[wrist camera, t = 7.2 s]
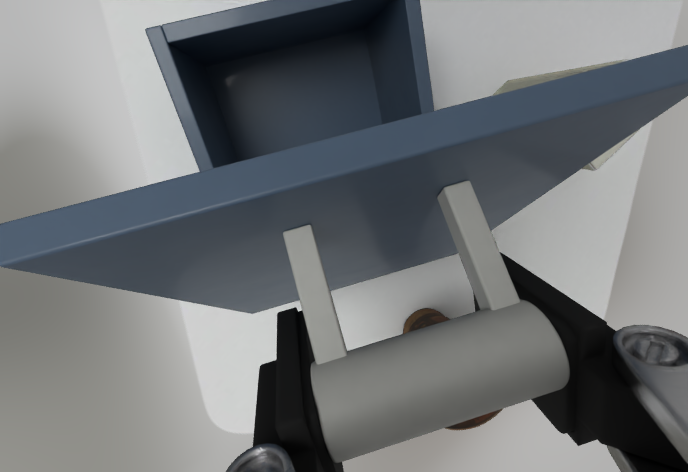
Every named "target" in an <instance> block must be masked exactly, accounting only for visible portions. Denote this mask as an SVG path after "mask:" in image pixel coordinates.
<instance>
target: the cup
mask: <svg viewBox="0 0 688 472" xmlns="http://www.w3.org/2000/svg"><path fill="white" fill-rule="evenodd" d="M447 320H451V319H449V318H447V317H445V316H444V315H443V314H441V313H440V312H438V311H436V310H434V309H428V308H426V309H421V310H418V311H416V312H414V313H413V314H412V315H411V316H410V317H409V318H408V319H407V321H406V323H405V326H404V330H403V334H405V333H408V332H412V331H415V330H418V329H421V328H425V327H428V326H431V325H434V324H438V323H441V322H444V321H447ZM501 410H502V409H500V410H497V411H494V412H491V413H488V414H485V415H482V416H479V417H476V418H473V419H470V420H467V421H463V422H460V423H457V424H454V425H451V426H448V427H445V428H446V429H450V430H466V429H471V428H475V427H478V426H480V425H482V424H484V423H486V422H487V421H489V420H491V419H492V418H493V417H495V416H496V415H497V414H498V413H499V412H500V411H501Z"/></svg>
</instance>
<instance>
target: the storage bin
mask: <svg viewBox="0 0 688 472" xmlns="http://www.w3.org/2000/svg"><path fill="white" fill-rule="evenodd" d="M145 30H146V34H147V36H148V39H149V41H150V44H151V46H152V49H153V52H154V54H155V57H156V59H157V62H158V65H159V67H160V70H161V72H162V75H163V77H164V80H165V83H166V85H167V88H168V90H169V93H170V96H171V98H172V101H173V103H174V106H175V108H176V111H177V114H178V116H179V119H180V121H181V124H182V127H183V129H184V132H185V134H186V137H187V139H188V142H189V145H190V147H191V150H192V152H193V155H194V158H195V160H196V163H197V165H198V168H199V170H200V172H201V171H205V170H209V169H213V168H217V167H220V166H224V165H228V164H232V163H236V162H240V161H244V160H247V159H251V158H255V157H259V156H263V155H267V154H270V153H274V152H278V151H282V150H286V149H290V148H294V147H297V146H301V145H305V144H309V143H313V142H317V141H320V140H324V139H328V138H332V137H336V136H340V135H344V134H347V133H351V132H355V131H359V130H363V129H367V128H370V127H374V126H378V125H382V124H386V123H390V122H394V121H397V120H401V119H405V118H409V117H413V116H417V115H420V114H424V113H428V112H432V111H434V105H433V98H432V90H431V83H430V75H429V67H428V60H427V52H426V44H425V37H424V29H423V22H422V14H421V6H420V0H269V1H264V2H260V3H255V4H251V5H247V6H242V7H238V8H233V9H229V10H225V11H220V12H216V13H211V14H207V15H203V16H198V17H194V18H189V19H185V20H181V21H176V22H172V23H167V24H163V25H162V26H160V25H159V26H155V27H151V28H147V29H145Z"/></svg>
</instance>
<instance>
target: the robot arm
mask: <svg viewBox="0 0 688 472" xmlns="http://www.w3.org/2000/svg"><path fill="white" fill-rule="evenodd" d="M500 254H501V257H502V259H503V261H504V264H505V266H506V268H507V271H508V273H509V276H510V278H511V280H512V283H513V285H514V288H515V290H516V292H517V295H518V297H519V299H520V300H525V301H528V302H530V303H532V304H533V305H535V306H536V307H537V308H538V309H539V310H540V311H541V312H542V313H543V314H544V315H545V316H546V317H547V318H548V320H549V321H550V322H551V324H552V325H553V327H554V328H555V330H556V331H557V333H558V335H559V337H560V339H561V341H562V343H563V346H564V348H565V351H566V354H567V357H568V361H569V367H570V376H569V380H568V383H567V384H566V385H565V387H563V388H562V389H560V390H557V391H554V392H551V393H548V394H545V395H542V396H539V397H536V398H533V399H531V400H532V401H533V402H534V403H535V404H536V405H537V407H538V408H539V409H540V410H541V411H542V412H543V414H544V415H545V416H546V417H547V418H548V419H549V421H550V422H551V423H552V424H553V425H554V426H555V428H556V429H557V430H558V431H559V432H561V433H563V434H565V433H568V435H569V436H570V437H571V438H572V439H573V440H574V441H575V443H577V445H578V446H579V445H582V444H585V443H588V442H591V441H594V440H597V439H598V440H599V442H600V443H602V444H605V445H607V448H608V450H609V452H610V454H611V456H612V457H613V459H614V460H615V462H616V464H617V466H618V467H619V469H620V471H621V472H688V338H687V337H686V336H683V335H681V334H679V333H677V332H675V331H672V330H668V329H665V328H662V327H657V326H650V325H632V326H627V327H623V328H622V329H620V330H618V331H615V330H613V329H612V328H611V327H609V326H608V325H607V322H606V321H604V320H602V319H601V318H599V317H598V316H596V315H595V314H593V313H592V312H590V311H589V310H587V309H586V308H584V307H583V306H581V305H580V304H578V303H577V302H575V301H574V300H572V299H571V298H569V297H568V296H566V295H565V294H563V293H562V292H560V291H559V290H557V289H556V288H554V287H552V286H551V285H549V284H548V283H546V282H545V281H543V280H542V279H540V278H539V277H537V276H536V275H534V274H533V273H531V272H530V271H528V270H527V269H525V268H524V267H522V266H521V265H519V264H518V263H516V262H515V261H513V260H512V259H510V258H509V257H507V256H505V255H504V254H502V253H501V252H500ZM473 293H474V292H473ZM474 303H475V312H477V311H480V307H479V304H478V302H477V299H476V297H475V294H474ZM314 361H315V358H314V354H313V350H312V346H311V342H310V338H309V334H308V330H307V326H306V323H305V319H304V315H303V311H299V312H298V310H297V308H296V307H295V308H292V309H288V310H285V311H282V312H278V314H277V360H275V361H272V362H269V363H266V364H262V365H261V366H260V370H259V380H258V392H257V404H256V416H255V428H254V440H253V447H252V448H250V449H248V450H246V451H245V452H244V453H242V454H241V455H240V456H238V457H237V458H236V459H235V460H234V462H233V463H232V464H231V465H230V466H229V467H228V469H227V471H226V472H344V471H343V465H342V462H340V463H335V462H333V460H332V459H331V457H330V455H329V453H328V450H327V447H326V444H325V441H324V438H323V434H322V431H321V427H320V423H319V419H318V415H317V410H316V406H315V401H314V396H313V390H312V384H311V375H310V368H311V364H312V363H313V362H314Z"/></svg>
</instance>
